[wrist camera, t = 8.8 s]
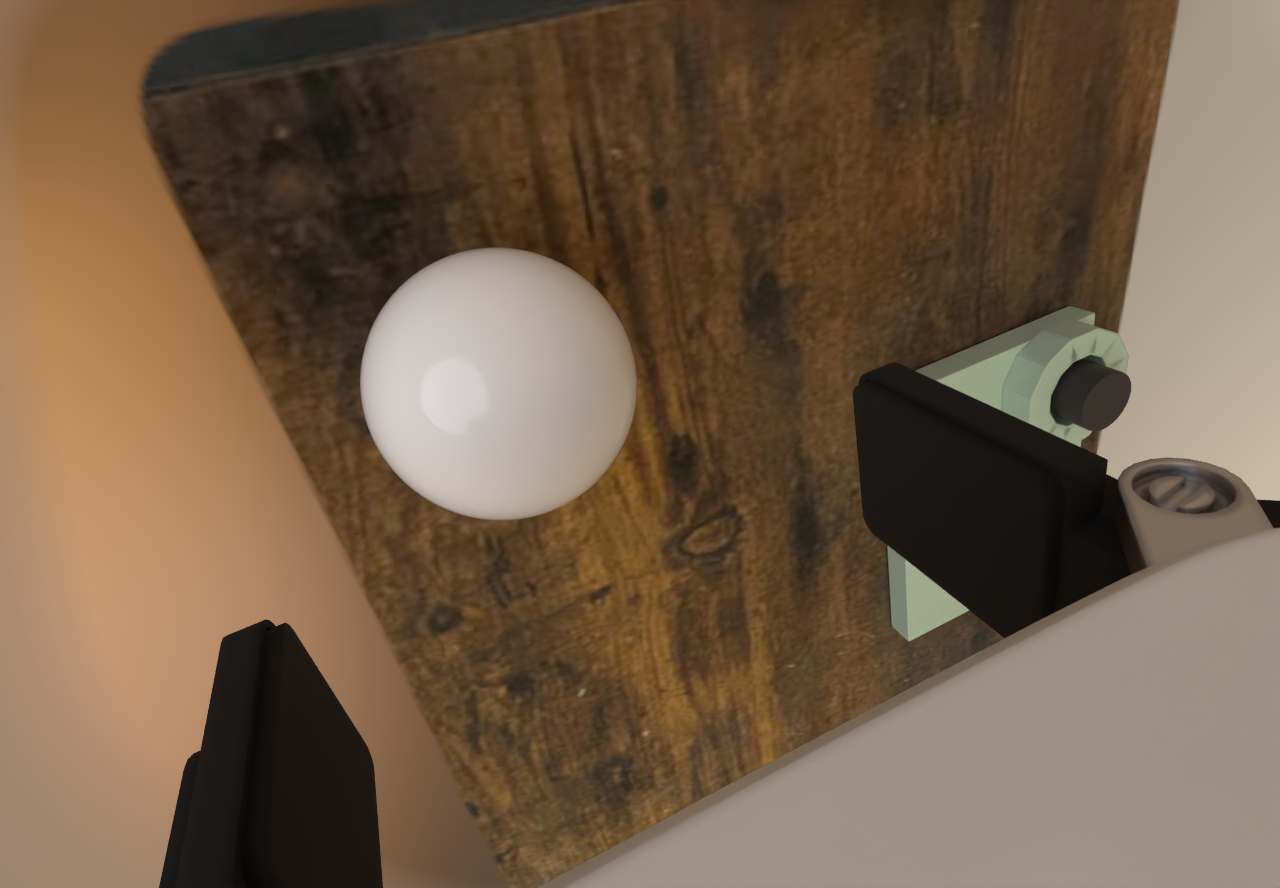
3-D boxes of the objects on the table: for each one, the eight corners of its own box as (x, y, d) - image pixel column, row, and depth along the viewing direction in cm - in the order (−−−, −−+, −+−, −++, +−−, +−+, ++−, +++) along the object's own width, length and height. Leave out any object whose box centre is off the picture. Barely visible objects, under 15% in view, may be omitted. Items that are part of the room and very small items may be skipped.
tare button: (1050, 371, 32) (1085, 385, 31) (1099, 350, 33) (1135, 362, 31) (1046, 425, 34) (1079, 440, 32) (1092, 404, 34) (1127, 418, 33)
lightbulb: (583, 290, 25) (734, 406, 16) (468, 427, 26) (550, 616, 17) (433, 156, 22) (518, 208, 13) (304, 319, 22) (294, 482, 13)
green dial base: (877, 378, 32) (924, 403, 30) (1075, 296, 35) (1135, 312, 32) (891, 626, 40) (929, 662, 37) (1052, 543, 42) (1098, 572, 40)
